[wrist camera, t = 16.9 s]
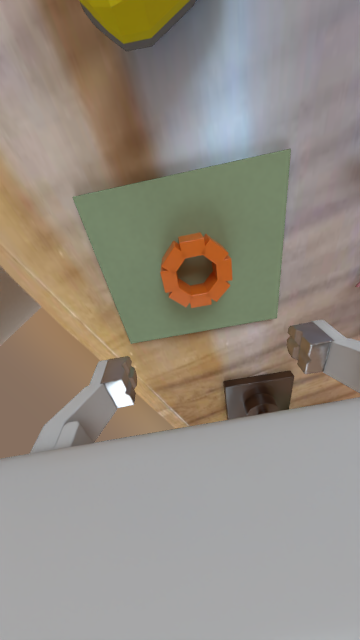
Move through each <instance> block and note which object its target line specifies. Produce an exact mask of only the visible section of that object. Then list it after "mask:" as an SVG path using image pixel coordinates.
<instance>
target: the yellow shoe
mask: <svg viewBox="0 0 360 640" xmlns="http://www.w3.org/2000/svg"><path fill="white" fill-rule="evenodd" d="M79 1H80V3H81V6H82V8H83V10H84V12H85V13H86V15H87V16H88V18H89V19H90V20H91V22H92V23H93V24H94V25H95V26H96V27H97V28H98V29H99V30H100V31H101V32H103V33H104V34H105V35H106V36H107V37H109V38H110V39H111V40H112V41H114V42H115V43H116V44H118V45H119V46H120V47H121V48H123V49H124V50H125V51H131V50H136V49H141V48H146V47H150V46H153V45H154V44H155V43H156V42H157V41H158V40H159V39H160V38H161V37H162V36H163V35H164V34H165V33H166V32H167V31H168V30H169V29H170V28H171V27H172V26H173V25H174V24H175V23H176V22H177V21H178V20H179V19H180V18H181V17H182V16H183V15H184V14H185V13H186V12H187V11H188V10H189V9H190V8H191V7H193V5H194V4H195V2H196V1H197V0H79Z"/></svg>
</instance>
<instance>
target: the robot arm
mask: <svg viewBox="0 0 360 640" xmlns="http://www.w3.org/2000/svg"><path fill="white" fill-rule="evenodd" d="M288 333H289V335H290V337H289V338H288V339H287V349H288V352H289V354H290V355H291V357H292V358H294V359H296V360H298V363H297V365H298V366H299V367H300V368H301V370H302V371H303V372H304V374H311V373H317V372H324V373H325V374H327V375H329V376H331V377H332V378H334V379H336V380H338V381H339V382H341V383H343V384H345V385H346V386H348V387H350V388H352V389H353V390H355V391H357V392H359V393H360V341H357V340H354V339H351V338H349V339H346V338H345V337H344V336H343V335H342V334H340V333H339V332H338V331H337V330H335V329H334V328H333V327H332V326H330V325H329V324H328V323H327V322H325V321H324V320H317V321H312V322H308V323H303V324H298V325H293V326H290V327H289V329H288ZM131 363H132V361H131V359H130V357H128V356H126V357H120V358H114V359H109V360H103V361H99V362H98V364H97V366H96V369H95V372H94V374H93V377H92V380H91V382H90V385H89V386H86V387H85V388H84V389H83V390H82V391H81V392H80V393H79V394H77V395H76V396H75V397H74V398H73V399H72V400H71V401H70V402H69V403H68V404H67V405H66V406H65V407H63V408H62V409H61V410H60V411H59V412H58V413H57V414H56V415H55V416H54V417H53V418H52V419H51V420H49V422H47V423H46V424H45V425H44V427H43V428H42V430H41V432H40V434H39V436H38V438H37V440H36V442H35V444H34V446H33V448H32V450H31V452H30V454H26V455H20V456H14V457H8V458H2V459H0V640H360V397H358V398H353V399H347V400H341V401H335V402H329V403H323V404H317V405H312V406H306V407H300V408H294V409H288V410H282V411H277V412H271V413H265V414H259V415H253V416H247V417H242V418H236V419H230V420H224V421H218V422H212V423H206V424H201V425H195V426H189V427H183V428H177V429H171V430H166V431H160V432H154V433H148V434H142V435H136V436H130V437H125V438H119V439H113V440H107V441H101V442H96V443H94V442H95V441H96V439H97V438H98V436H99V435H100V434H101V432H102V431H103V429H104V428H105V426H106V425H107V423H108V422H109V420H110V419H111V418H112V416H113V415H114V413H115V412H116V410H117V408H120V407H125V406H130V405H134V401H135V394H136V393H135V391H134V389H135V387H136V386H137V374H136V371H135V368H134V367H132V366H131Z"/></svg>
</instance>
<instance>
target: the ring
mask: <svg viewBox="0 0 360 640" xmlns="http://www.w3.org/2000/svg"><path fill="white" fill-rule="evenodd" d="M178 238H179V244H178V243H177V242H176V241H173V242H172V244H171V245H170V247H169V248H168V250H167V251H166V253H165V255H164V256H163V258H162V264H161V271H160V273H161V278H162V282H163V286H164V290H165V293H168V292H169V298H171V299H172V300H174V301H176V302H178V303H179V304H181V305H183V306H184V307H187V306H188V305H189V303H190V305H191V308H195V307H201V306H206V305H211V304H212V301H211V299H213V300H214V301H216V302H217V301H218V300H219V299H220V297H221V296H222V295H223V294H224V293H225V292H226V290H227V289H228V288H229V287H230V286H231V285H230V284H229V282H228V281H231V280H232V260H231V258H230V256H229V255H228V254H229V253H228V252H227V251H226V250H225V248H224V247H223V246H222V245H220V244H219V243H218V242H216V241H215V240H214V239H212V238H211V237H210V236H208V235H207V234H205V235H204V237H203V236H202V234H201V233H195V234H190V235H185V236H180V237H178ZM201 255H203V256H205V257H206V258H208V259H209V260H210V261H212V268H213V272H212V273H211V274H210V275H209V277H208V278H207V279H206V281H205V282H204V283H201V284H195V285H188V284H187V283H185V282H184V281H182V280H181V279H179V278H178V275H177V270H178V269H179V267H180V266H181V264H182V263H183V262H184V260H185V259H186V258H190V257H196V256H201Z"/></svg>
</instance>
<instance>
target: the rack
mask: <svg viewBox="0 0 360 640" xmlns="http://www.w3.org/2000/svg"><path fill="white" fill-rule="evenodd" d="M293 380H294V376H293V374H292V373H291V371H285V372H279V373H273V374H267V375H260V376H254V377H248V378H242V379H236V380H229V381H224V392H225V401H226V411H227V420H230V419H236V418H242V417H247V416H253V415H259V414H265V413H271V412H277V411H282V410H288V409H289V405H290V399H291V393H292V387H293Z"/></svg>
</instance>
